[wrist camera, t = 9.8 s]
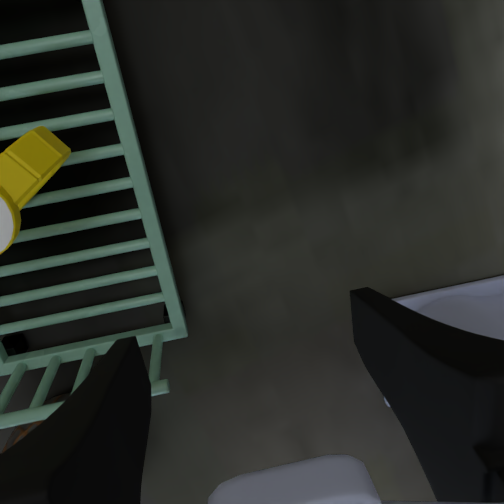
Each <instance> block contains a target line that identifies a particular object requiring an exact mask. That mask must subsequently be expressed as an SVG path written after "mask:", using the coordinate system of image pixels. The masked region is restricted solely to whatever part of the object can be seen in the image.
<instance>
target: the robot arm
mask: <svg viewBox="0 0 504 504" xmlns="http://www.w3.org/2000/svg"><path fill="white" fill-rule="evenodd" d="M350 299H351V311H352V323H353V335H354V342H355V345H356V347H357V349H358V352H359V354H360V356H361V358H362V361H363V363H364V365H365V367H366V368H367V370H368V372H369V373H370V375H371V376H372V378H373V380H374V381H375V383H376V385H377V386H378V388H379V389H380V391H381V392H382V394H383V396H384V401H385V403H386V405H387V406H388V407H391V408H392V410H393V411H394V413H395V415H396V416H397V418H398V420H399V421H400V423H401V425H402V427H403V428H404V430H405V432H406V435H407V437H408V439H409V441H410V443H411V445H412V447H413V449H414V451H415V453H416V455H417V457H418V459H419V462H420V464H421V466H422V468H423V470H424V472H425V474H426V477H427V479H428V481H429V483H430V485H431V488H432V490H433V492H434V495H435V497H436V499H437V501H438V502H427V501H381V500H380V498H379V496H378V493H377V491H376V489H375V486H374V484H373V482H372V480H371V477H370V475H369V473H368V471H367V469H366V467H365V465H364V463H363V461H360V460H358V459H356V458H354V457H352V456H350V455H348V454H335V455H324V456H319V457H315V458H310V459H306V460H302V461H297V462H293V463H289V464H284V465H280V466H276V467H271V468H267V469H262V470H258V471H254V472H249V473H245V474H241V475H238V476H236V477H233V478H231V479H229V480H227V481H224V482H222V483H221V484H220V485H219V486H218V487H217V488H216V489H215V490H214V492H213V493H212V494H211V495H210V496H209V497H208V504H504V275H502V276H498V277H493V278H488V279H483V280H479V281H474V282H469V283H464V284H460V285H455V286H450V287H446V288H441V289H436V290H431V291H427V292H422V293H417V294H412V295H408V296H403V297H398V298H393V299H390V298H388V297H386V296H384V295H382V294H381V293H379V292H377V291H375V290H373V289H371V288H369V287H365V288H360V289H356V290H351V291H350ZM150 418H151V382H150V379H149V376H148V373H147V370H146V367H145V364H144V360H143V357H142V354H141V351H140V348H139V345H138V342H137V338H136V336H131V337H126V338H121V339H117V340H116V341H115V342H114V344H113V345H112V346H111V347H110V349H109V350H108V351H107V352H106V354H105V355H104V356H103V357H102V359H101V360H100V361H99V363H98V364H97V365H96V366H95V367H94V369H93V370H92V371H91V372H90V374H89V375H88V376H87V377H86V378H85V380H84V381H83V382H82V383H81V384H80V385H79V386H78V387H77V388H76V390H75V391H74V392H73V393H72V394H71V395H70V396H69V397H68V398H67V399H66V400H65V401H64V402H63V403H62V404H61V405H60V406H59V407H58V408H57V409H56V410H55V411H54V412H53V413H52V414H51V415H50V416H49V417H48V418H47V419H45V420H44V421H43V422H42V423H41V424H40V425H38V426H37V427H36V428H35V429H33V430H32V431H31V432H30V433H28V434H27V435H26V436H25V437H23V438H22V439H21V440H19V441H18V442H17V443H16V444H14V445H13V446H11V447H10V448H9V449H7V450H6V451H4V452H3V453H1V454H0V504H140V496H141V481H142V472H143V466H144V459H145V452H146V446H147V439H148V432H149V425H150Z"/></svg>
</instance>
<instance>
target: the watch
mask: <svg viewBox="0 0 504 504" xmlns="http://www.w3.org/2000/svg"><path fill="white" fill-rule="evenodd" d="M70 154H71V149H70V148H69V147H68V146H66V145H65V144H64V143H63V142H62V141H61V140H59V139H58V138H57V137H56V136H55V135H54V134H53V133H51V132H50V131H49V130H48V129H47V128H46V127H44V126H38V127H36V128H34V129H32V130H30V131H28V132H27V133H25V134H24V135H23V136H22V137H20V138H19V139H18V140H17V141H15V142H14V143H13V144H12V145H10V146H9V147H8V148H6V149H5V151H4V152H2V153H1V154H0V254H1V253H3V252H4V251H5V250H7V249H8V248H9V246H10V245H11V244H12V243H13V242H14V240H15V239H16V237H17V236H18V234H19V230H20V225H21V216H20V210H21V209H22V208H23V207H24V206H25V205H26V204H27V203H28V202H29V200H30V199H31V198H32V197H33V196H34V195H35V194H36V193H37V192H38V191H39V190H40V189H41V188H42V186H43V185H44V184H45V183H46V182H47V181H48V180H49V179H50V178H51V177H52V176H53V175H54V173H55V172H56V171H57V170H58V169H59V168H60V167H61V165H62V164H63V163H64V162H65V161H66V160H67V158H68V157H69V155H70Z"/></svg>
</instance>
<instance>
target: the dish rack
mask: <svg viewBox="0 0 504 504" xmlns="http://www.w3.org/2000/svg"><path fill="white" fill-rule="evenodd" d="M76 1H78V2H80V3H82V4H83V8H84V12H85V15H86V19H87V23H88V26H89V30H85V31H80V32H74V33H68V34H62V35H56V36H50V37H44V38H39V39H33V40H27V41H21V42H15V43H9V44H3V45H0V60H1V59H7V58H13V57H18V56H24V55H30V54H36V53H42V52H47V51H53V50H59V49H65V48H70V47H76V46H82V45H88V44H94V48H95V51H96V55H97V59H98V62H99V66H100V70H99V71H93V72H87V73H82V74H76V75H70V76H65V77H59V78H53V79H48V80H42V81H36V82H31V83H25V84H19V85H14V86H8V87H2V88H0V101H6V100H11V99H17V98H23V97H28V96H34V95H40V94H45V93H51V92H57V91H62V90H68V89H73V88H79V87H85V86H90V85H96V84H102V83H104V84H105V88H106V91H107V95H108V98H109V102H110V106H111V108H108V109H102V110H97V111H91V112H86V113H80V114H75V115H69V116H64V117H58V118H53V119H47V120H42V121H36V122H31V123H25V124H20V125H14V126H9V127H3V128H0V141H2V140H8V139H13V138H19V137H22V136H23V135H24V134H25V133H27V132H28V131H30V130H32V129H34V128H36V127H38V126H44V127H46V128H47V129H48V130H49V131H50V132H52V131H57V130H63V129H68V128H73V127H79V126H84V125H90V124H95V123H101V122H106V121H112V120H115V124H116V127H117V131H118V135H119V138H120V142H121V143H120V144H115V145H109V146H104V147H98V148H93V149H88V150H82V151H77V152H72V153H71V154H70V155H69V157H68V158H67V160H66V161H65V162H64V163H63V164H62V165H61V167H62V166H67V165H72V164H78V163H83V162H88V161H94V160H99V159H104V158H110V157H115V156H120V155H124V156H125V160H126V163H127V167H128V171H129V174H130V177H126V178H120V179H115V180H110V181H104V182H99V183H94V184H89V185H83V186H78V187H73V188H68V189H62V190H57V191H52V192H46V193H41V194H36V195H34V196H33V197H32V198H31V199H30V200H29V202H28V203H27V204H26V205H25V206H24V207H23V208H22V209H24V208H29V207H34V206H39V205H44V204H50V203H55V202H60V201H65V200H71V199H76V198H81V197H86V196H92V195H97V194H102V193H107V192H113V191H118V190H123V189H128V188H133V189H134V192H135V196H136V200H137V203H138V207H139V208H136V209H131V210H126V211H120V212H115V213H110V214H105V215H100V216H95V217H89V218H84V219H79V220H74V221H69V222H64V223H58V224H53V225H48V226H43V227H38V228H33V229H28V230H22V231H19V234H18V236H17V237H16V239H15V240H14V242H13V243H18V242H23V241H29V240H34V239H39V238H44V237H49V236H54V235H59V234H64V233H70V232H75V231H80V230H85V229H90V228H95V227H100V226H106V225H111V224H116V223H121V222H126V221H131V220H136V219H141V218H142V221H143V225H144V229H145V232H146V236H147V238H142V239H137V240H132V241H127V242H122V243H117V244H111V245H106V246H101V247H96V248H91V249H86V250H81V251H76V252H71V253H66V254H61V255H56V256H51V257H46V258H41V259H36V260H30V261H25V262H20V263H15V264H10V265H5V266H0V277H5V276H10V275H15V274H20V273H25V272H30V271H35V270H40V269H45V268H50V267H55V266H60V265H65V264H70V263H75V262H80V261H85V260H90V259H95V258H100V257H105V256H110V255H115V254H120V253H125V252H130V251H135V250H140V249H145V248H150V250H151V254H152V257H153V261H154V266H149V267H144V268H139V269H134V270H129V271H124V272H119V273H114V274H109V275H104V276H99V277H94V278H90V279H85V280H80V281H75V282H70V283H65V284H60V285H55V286H50V287H45V288H40V289H35V290H30V291H25V292H20V293H15V294H10V295H5V296H0V307H3V306H8V305H13V304H18V303H23V302H28V301H33V300H37V299H42V298H47V297H52V296H57V295H62V294H67V293H72V292H77V291H82V290H87V289H92V288H97V287H102V286H107V285H112V284H117V283H121V282H126V281H131V280H136V279H141V278H146V277H151V276H156V275H157V276H158V279H159V283H160V286H161V290H162V292H159V293H154V294H149V295H144V296H139V297H134V298H129V299H124V300H119V301H115V302H110V303H105V304H100V305H95V306H90V307H85V308H80V309H75V310H71V311H66V312H61V313H56V314H51V315H46V316H41V317H36V318H31V319H27V320H22V321H17V322H12V323H7V324H2V325H0V335H4V334H9V333H13V332H18V331H23V330H28V329H33V328H38V327H43V326H47V325H52V324H57V323H62V322H67V321H72V320H77V319H81V318H86V317H91V316H96V315H101V314H106V313H111V312H115V311H120V310H125V309H130V308H135V307H140V306H145V305H150V304H154V303H159V302H164V301H165V305H164V316H163V318H164V321H165V324H162V325H157V326H152V327H147V328H142V329H138V330H133V331H128V332H123V333H118V334H114V335H109V336H104V337H99V338H94V339H90V340H85V341H80V342H75V343H70V344H66V345H61V346H56V347H51V348H46V349H42V350H37V351H32V352H27V350H28V345H27V343H26V341H25V339H24V336H23V334H17V335H12V336H7V337H4V338H3V340H2V341H1V340H0V376H4V375H8V374H12V375H11V377H10V378H9V380H8V382H7V384H6V386H5V387H4V389H3V391H2V393H1V395H0V429H4V428H9V427H13V426H18V425H22V424H27V423H32V422H36V421H41V420H45V419H47V418H48V417H49V416H50V415H51V414H52V413H53V412H54V411H55V410H56V409H57V408H58V407H59V406H60V405H61V404H62V403H63V402H64V401H61V402H56V403H52V404H47V405H43V404H44V401H45V399H46V396H47V394H48V392H49V389H50V387H51V384H52V382H53V380H54V377H55V375H56V372H57V370H58V368H59V365H60V364H61V363H65V362H70V361H75V360H80V359H83V360H82V363H81V366H80V369H79V372H78V375H77V377H76V380H75V383H74V386H73V389H72V392H71V394H72V393H73V392H74V391H75V390H76V388H77V387H78V386H79V385H80V384H81V383H82V382H83V381H84V380H85V378H86V377H87V376H88V375H89V373H90V370H91V366H92V363H93V360H94V357H95V356H98V355H103V354H106V352H107V351H108V350H109V349H110V347H111V346H112V345H113V344H114V342H115V341H116V340H117V339H121V338H126V337H131V336H136V338H137V342H138V345H139V347H141V346H146V345H151V344H152V352H151V361H150V369H149V379H150V382H151V396H156V395H161V394H165V393H169V392H170V384H169V381H168V379H163V380H160V368H161V357H162V345H163V342H165V341H170V340H174V339H179V338H184V337H187V336H188V328H187V324H186V313H185V310H184V306H183V302H182V301H180V297H179V293H178V289H177V285H176V282H175V278H174V274H173V270H172V266H171V262H170V259H169V255H168V251H167V247H166V243H165V239H164V236H163V232H162V228H161V224H160V220H159V216H158V212H157V209H156V205H155V201H154V197H153V193H152V189H151V186H150V182H149V178H148V174H147V170H146V166H145V162H144V159H143V155H142V151H141V147H140V143H139V139H138V136H137V132H136V128H135V124H134V120H133V116H132V112H131V109H130V105H129V101H128V97H127V93H126V89H125V86H124V82H123V78H122V74H121V70H120V66H119V62H118V59H117V55H116V51H115V47H114V43H113V39H112V36H111V32H110V28H109V24H108V20H107V16H106V13H105V9H104V5H103V1H102V0H76ZM13 243H12V244H13ZM26 352H27V353H26ZM46 366H48V367H47V369H46V371H45V373H44V375H43V378H42V380H41V382H40V384H39V386H38V389H37V391H36V393H35V395H34V397H33V400H32V402H31V404H30V406H29V408H28V409H24V410H19V411H15V412H10V413H5V414H3V413H4V411H5V410H6V408H7V406H8V404H9V402H10V400H11V398H12V396H13V394H14V392H15V390H16V388H17V386H18V384H19V383H20V381H21V379H22V377H23V375H24V373H25V371H27V370H32V369H37V368H42V367H46Z"/></svg>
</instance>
